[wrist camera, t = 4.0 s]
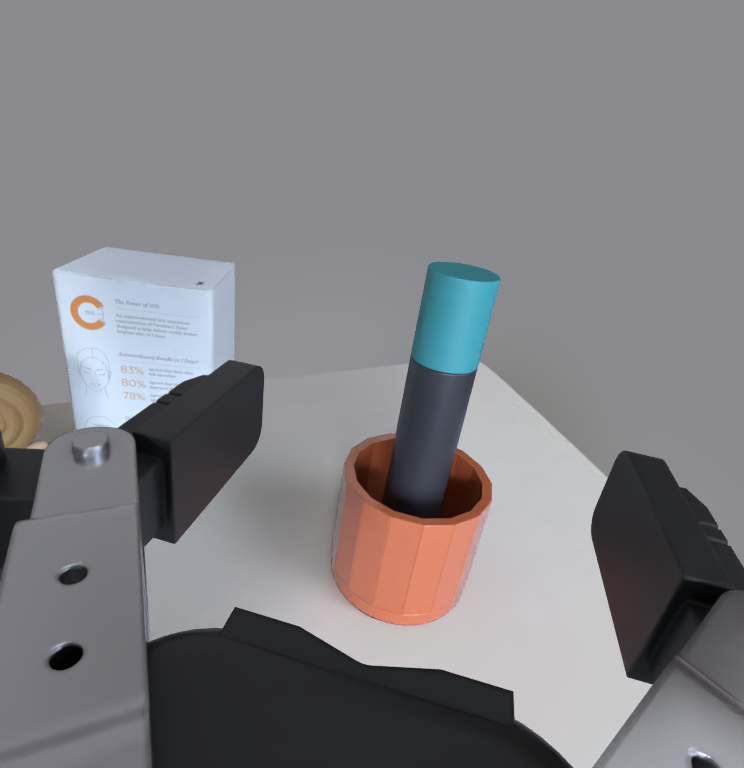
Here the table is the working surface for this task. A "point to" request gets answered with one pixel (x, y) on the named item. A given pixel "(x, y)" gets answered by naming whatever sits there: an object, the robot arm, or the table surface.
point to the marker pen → (438, 384)
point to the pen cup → (405, 539)
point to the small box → (140, 328)
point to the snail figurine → (19, 414)
